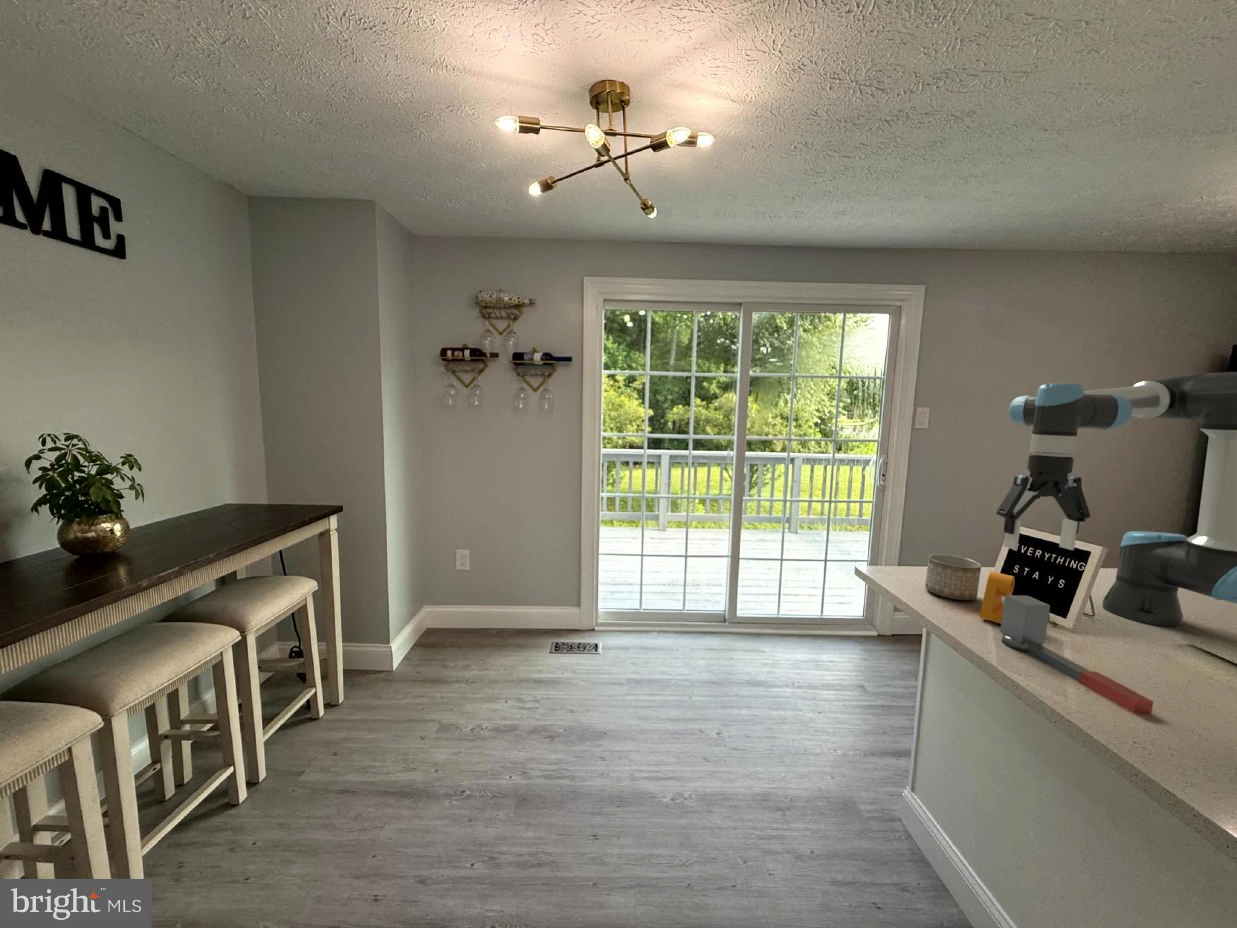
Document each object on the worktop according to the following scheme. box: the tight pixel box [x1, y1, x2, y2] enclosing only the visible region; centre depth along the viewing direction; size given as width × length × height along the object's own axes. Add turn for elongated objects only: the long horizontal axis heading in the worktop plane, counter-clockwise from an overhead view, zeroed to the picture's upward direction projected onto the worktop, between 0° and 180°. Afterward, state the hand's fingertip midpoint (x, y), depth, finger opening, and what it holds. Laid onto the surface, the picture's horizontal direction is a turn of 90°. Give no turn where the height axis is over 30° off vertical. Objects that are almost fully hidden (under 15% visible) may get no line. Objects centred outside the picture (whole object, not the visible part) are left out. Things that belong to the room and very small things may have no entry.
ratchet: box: [1001, 634, 1154, 715], centre depth 103 cm, size 28×7×6 cm, turn 4°
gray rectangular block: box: [999, 594, 1051, 645], centre depth 113 cm, size 6×6×9 cm
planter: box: [924, 553, 982, 601], centre depth 144 cm, size 13×13×10 cm
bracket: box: [979, 571, 1016, 625], centre depth 127 cm, size 11×7×12 cm, turn 131°
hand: (1038, 548), depth 112 cm, fingers open, 13 cm apart
